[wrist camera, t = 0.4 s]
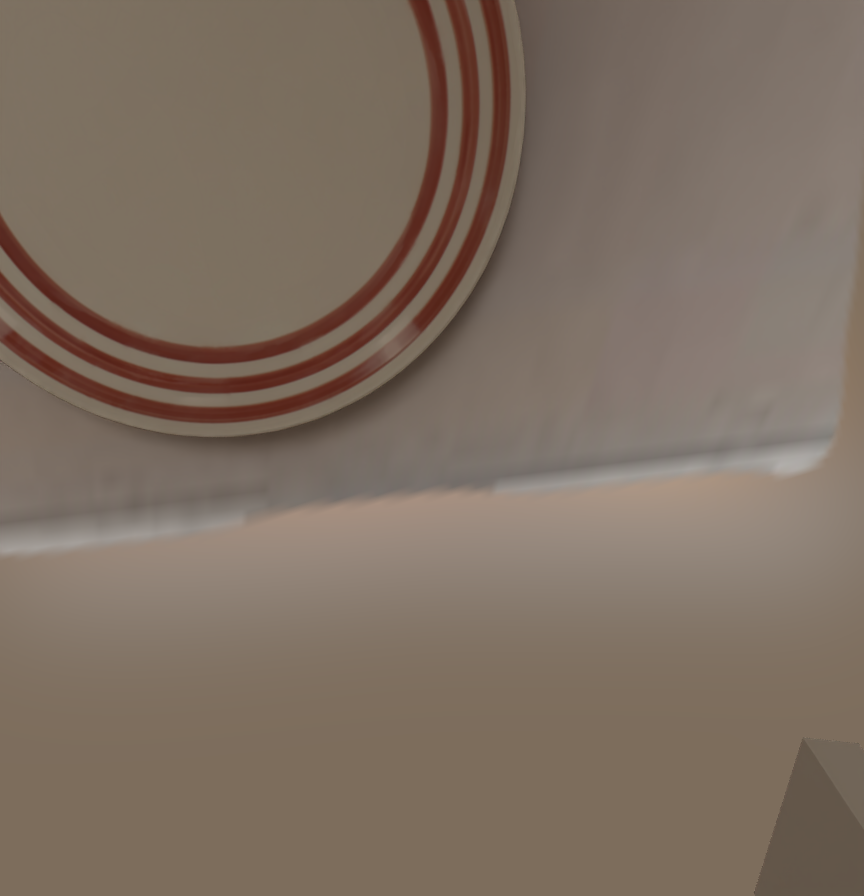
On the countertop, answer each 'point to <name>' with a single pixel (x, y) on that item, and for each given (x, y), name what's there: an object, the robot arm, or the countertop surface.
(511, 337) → the countertop surface
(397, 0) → the dinner plate
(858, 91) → the countertop surface
